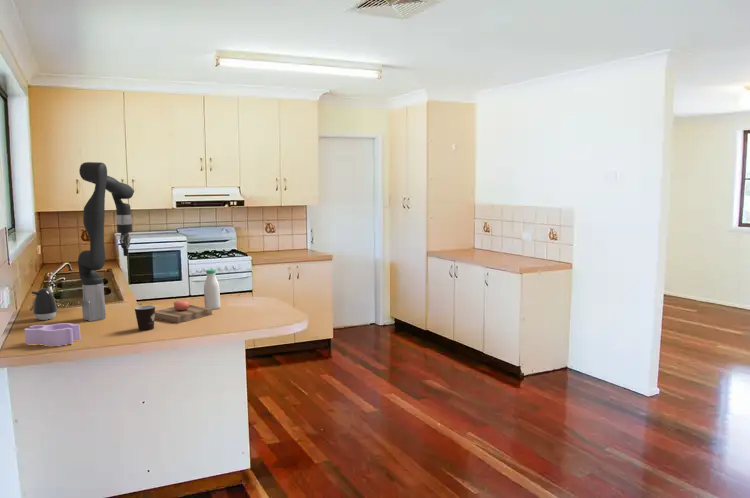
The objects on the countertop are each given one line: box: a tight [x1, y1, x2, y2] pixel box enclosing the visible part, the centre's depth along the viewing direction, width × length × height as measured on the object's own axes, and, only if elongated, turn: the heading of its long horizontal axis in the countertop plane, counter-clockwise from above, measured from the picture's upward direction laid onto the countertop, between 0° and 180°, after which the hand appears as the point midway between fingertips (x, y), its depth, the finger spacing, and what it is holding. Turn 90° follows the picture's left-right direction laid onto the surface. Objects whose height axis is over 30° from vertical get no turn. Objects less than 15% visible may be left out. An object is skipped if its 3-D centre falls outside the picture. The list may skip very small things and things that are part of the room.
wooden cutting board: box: [154, 304, 213, 324], centre depth 297 cm, size 20×20×3 cm
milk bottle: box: [203, 268, 221, 310], centre depth 313 cm, size 8×8×20 cm
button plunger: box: [173, 300, 190, 310], centre depth 297 cm, size 7×7×3 cm
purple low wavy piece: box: [24, 322, 82, 346], centre depth 253 cm, size 20×12×7 cm, turn 91°
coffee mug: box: [134, 304, 156, 332], centre depth 274 cm, size 12×9×10 cm
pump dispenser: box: [31, 287, 58, 321], centre depth 295 cm, size 10×10×15 cm
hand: (126, 255), depth 325 cm, fingers closed
